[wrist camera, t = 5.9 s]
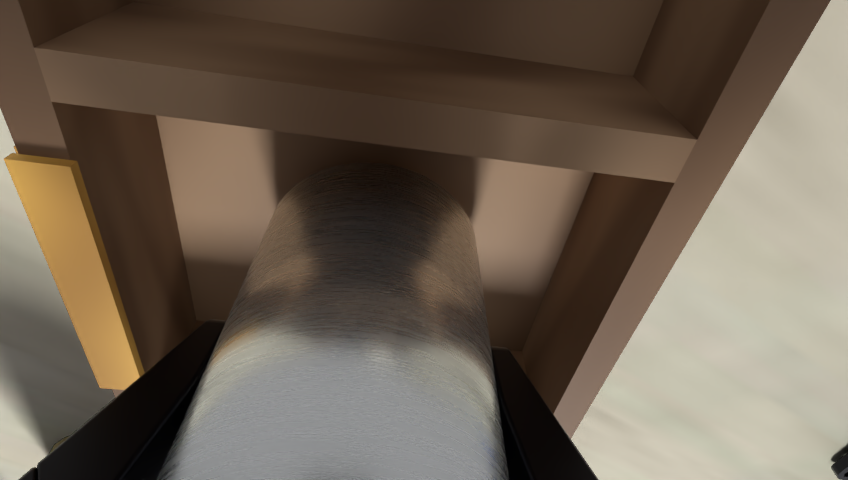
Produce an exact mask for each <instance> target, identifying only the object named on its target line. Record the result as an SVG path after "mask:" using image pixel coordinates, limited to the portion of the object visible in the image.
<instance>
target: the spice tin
mask: <svg viewBox="0 0 848 480" xmlns="http://www.w3.org/2000/svg"><path fill="white" fill-rule="evenodd" d="M157 480H509V474H508V467H507V460H506V453H505V445H504V438H503V431H502V424H501V417H500V410H499V403H498V395H497V388H496V381H495V374H494V367H493V360H492V352H491V345H490V338H489V331H488V324H487V317H486V309H485V302H484V295H483V288H482V281H481V274H480V266H479V259H478V252H477V245H476V238H475V233H474V230H473V227H472V224H471V222H470V220H469V218H468V216H467V214H466V212H465V211H464V209H463V208H462V207H461V205H460V204H459V203H458V201H457V200H456V199H455V198H454V197H453V196H452V195H451V194H450V193H449V192H447V191H446V190H445V189H444V188H442V187H441V186H440V185H439V184H437V183H435V182H434V181H432V180H430V179H429V178H427V177H425V176H423V175H420V174H418V173H416V172H414V171H411V170H408V169H405V168H401V167H398V166H393V165H388V164H382V163H350V164H344V165H338V166H334V167H331V168H328V169H324V170H321V171H319V172H317V173H315V174H313V175H310V176H309V177H307V178H305V179H304V180H302V181H301V182H299V183H298V184H297V185H295V186H294V187H293V188H292V189H291V190H290V191H288V193H287V194H286V195H285V196H284V197H283V198H282V200H281V201H280V202H279V204H278V206H277V207H276V209H275V211H274V213H273V215H272V218H271V220H270V222H269V224H268V227H267V229H266V231H265V234H264V236H263V238H262V240H261V243H260V245H259V247H258V250H257V252H256V254H255V256H254V259H253V261H252V263H251V266H250V268H249V270H248V272H247V275H246V277H245V279H244V282H243V284H242V286H241V288H240V291H239V293H238V295H237V298H236V300H235V302H234V304H233V307H232V309H231V311H230V313H229V316H228V318H227V320H226V323H225V325H224V327H223V329H222V332H221V334H220V336H219V339H218V341H217V343H216V345H215V348H214V350H213V352H212V355H211V357H210V359H209V361H208V364H207V366H206V368H205V371H204V373H203V375H202V377H201V380H200V382H199V384H198V387H197V389H196V391H195V393H194V396H193V398H192V400H191V403H190V405H189V407H188V409H187V412H186V414H185V416H184V419H183V421H182V423H181V425H180V428H179V430H178V432H177V435H176V437H175V439H174V441H173V444H172V446H171V448H170V450H169V453H168V455H167V457H166V460H165V462H164V464H163V466H162V469H161V471H160V473H159V476H158V478H157Z"/></svg>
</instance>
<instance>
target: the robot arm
mask: <svg viewBox="0 0 848 480" xmlns="http://www.w3.org/2000/svg"><path fill="white" fill-rule="evenodd" d="M225 323H226V320H218V319H209V320H207V321H205V322H204V323H203V324H202V325H201V326H199V327H198V328H197V329H196V330H195V331H193V332H192V333H191V334H190V335H189V336H188V337H186V338H185V339H184V340H183V341H182V342H181V343H179V344H178V345H177V346H176V347H175V348H173V349H172V350H171V351H170V352H169V353H168V354H166V355H165V356H164V357H163V358H162V359H160V360H159V361H158V362H157V363H156V364H155V365H153V366H152V367H151V368H150V369H149V370H147V371H146V372H145V373H144V374H143V375H142V376H140V377H139V378H138V379H137V380H136V381H135V382H133V383H132V384H131V385H130V386H129V387H127V388H126V389H125V390H124V391H123V392H122V393H120V394H119V395H118V396H117V397H116V398H114V399H113V400H112V401H111V402H110V403H109V404H107V405H106V406H105V407H104V408H103V409H101V410H100V411H99V412H98V413H97V414H96V415H94V416H93V417H92V418H91V419H90V420H89V421H87V422H86V423H85V424H84V425H83V426H81V427H80V428H79V429H78V430H77V431H76V432H74V433H73V434H72V435H71V436H70V437H68V438H67V439H66V440H65V441H64V442H63V443H61V444H60V445H59V446H58V447H57V448H55V449H54V450H53V451H52V452H51V453H50V454H48V455H47V456H46V457H45V458H44V459H43V460H41V461H40V462H39V463H38V465H37V468H36V467H34V468H32V469H30V470H29V471H28V472H27V473H26V474H25V475H23V476H22V477H21V478H20V479H19V480H157V478H158V476H159V473H160V471H161V469H162V466H163V464H164V462H165V460H166V457H167V455H168V453H169V450H170V448H171V446H172V444H173V441H174V439H175V437H176V435H177V432H178V430H179V428H180V425H181V423H182V421H183V419H184V416H185V414H186V412H187V409H188V407H189V405H190V403H191V400H192V398H193V396H194V393H195V391H196V389H197V387H198V384H199V382H200V380H201V377H202V375H203V373H204V371H205V368H206V366H207V364H208V361H209V359H210V357H211V355H212V352H213V350H214V348H215V345H216V343H217V341H218V339H219V336H220V334H221V332H222V329H223V327H224V325H225ZM491 352H492V360H493V367H494V374H495V381H496V388H497V395H498V403H499V410H500V417H501V424H502V431H503V438H504V445H505V453H506V460H507V467H508V474H509V480H598V478H597V477H596V476H595V474H594V473H593V471H592V470H591V468H590V467H589V465H588V464H587V462H586V461H585V459H584V458H583V457H582V455H581V454H580V452H579V451H578V449H577V448H576V446H575V445H574V443H573V442H572V441H571V439H570V438H569V436H568V435H567V433H566V432H565V430H564V429H563V427H562V426H561V424H560V423H559V422H558V420H557V419H556V417H555V416H554V414H553V413H552V411H551V410H550V408H549V407H548V406H547V404H546V403H545V401H544V400H543V398H542V397H541V395H540V394H539V392H538V391H537V390H536V388H535V387H534V385H533V384H532V382H531V381H530V379H529V378H528V376H527V375H526V373H525V372H524V371H523V369H522V368H521V366H520V365H519V363H518V362H517V360H516V359H515V357H514V356H513V355H512V353H511V352H510V350H509V349H507V348H505V347H497V346H491ZM831 469H832V470H833V472H834V473H835V475H836V476H837V478H839V479H841V480H848V453H847V454H846V455H844V456H843V457H842V458H841V459H839V460H838V461H837V462H835V463H834V464H833V465H832V466H831Z"/></svg>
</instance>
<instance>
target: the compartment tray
mask: <svg viewBox="0 0 848 480" xmlns="http://www.w3.org/2000/svg"><path fill="white" fill-rule="evenodd" d="M829 2H830V0H0V108H1V110H2V113H3V115H4V118H5V121H6V123H7V126H8V128H9V131H10V133H11V136H12V138H13V141H14V143H15V146H14V148H15V151H16V153H17V154H16V153H12V154H10V155H9V156H7V157H6V158H4V161H5V163H6V166H7V168H8V170H9V173H10V175H11V177H12V180H13V182H14V185H15V187H16V189H17V192H18V194H19V197H20V199H21V201H22V204H23V206H24V208H25V211H26V213H27V216H28V218H29V220H30V223H31V225H32V228H33V230H34V232H35V235H36V237H37V240H38V242H39V244H40V247H41V249H42V251H43V254H44V256H45V259H46V261H47V263H48V266H49V268H50V271H51V273H52V275H53V278H54V280H55V282H56V285H57V287H58V290H59V292H60V294H61V297H62V299H63V302H64V304H65V306H66V309H67V311H68V313H69V316H70V318H71V321H72V323H73V325H74V328H75V330H76V333H77V335H78V337H79V340H80V342H81V344H82V347H83V349H84V352H85V354H86V356H87V359H88V361H89V364H90V366H91V368H92V371H93V373H94V375H95V378H96V380H97V383H98V385H99V387H100V388H105V389H112V391H113V393H114V396H115V398H116V397H117V396H118V395H119V394H120V393H122V392H123V391H124V390H125V389H126V388H127V387H129V386H130V385H131V384H132V383H133V382H135V381H136V380H137V379H138V378H139V377H140V376H142V375H143V374H144V373H145V372H146V371H147V370H149V369H150V368H151V367H152V366H153V365H155V364H156V363H157V362H158V361H159V360H160V359H162V358H163V357H164V356H165V355H166V354H168V353H169V352H170V351H171V350H172V349H173V348H175V347H176V346H177V345H178V344H179V343H181V342H182V341H183V340H184V339H185V338H186V337H188V336H189V335H190V334H191V333H192V332H193V331H195V330H196V329H197V328H198V327H199V326H201V325H202V324H203V323H204V322H205V321H207V320H209V319H218V320H227V318H228V316H229V313H230V311H231V309H232V307H233V304H234V302H235V300H236V298H237V295H238V293H239V291H240V288H241V286H242V284H243V282H244V279H245V277H246V275H247V272H248V270H249V268H250V266H251V263H252V261H253V259H254V256H255V254H256V252H257V250H258V247H259V245H260V243H261V240H262V238H263V236H264V234H265V231H266V229H267V227H268V224H269V222H270V220H271V218H272V215H273V213H274V211H275V209H276V207H277V206H278V204H279V202H280V201H281V200H282V198H283V197H284V196H285V195H286V194H287V193H288V191H290V190H291V189H292V188H293V187H294V186H295V185H297V184H298V183H299V182H301V181H302V180H304V179H305V178H307V177H309V176H310V175H313V174H315V173H317V172H319V171H321V170H324V169H328V168H331V167H334V166H338V165H344V164H350V163H382V164H388V165H393V166H398V167H401V168H405V169H408V170H411V171H414V172H416V173H418V174H420V175H423V176H425V177H427V178H429V179H430V180H432V181H434V182H435V183H437V184H439V185H440V186H441V187H442V188H444V189H445V190H446V191H447V192H449V193H450V194H451V195H452V196H453V197H454V198H455V199H456V200H457V201H458V203H459V204H460V205H461V207H462V208H463V209H464V211H465V212H466V214H467V216H468V218H469V220H470V222H471V224H472V227H473V230H474V233H475V238H476V245H477V252H478V259H479V266H480V274H481V281H482V288H483V295H484V302H485V309H486V317H487V324H488V331H489V338H490V345H491V346H497V347H505V348H507V349H509V350H510V352H511V353H512V355H513V356H514V357H515V359H516V360H517V362H518V363H519V365H520V366H521V368H522V369H523V371H524V372H525V373H526V375H527V376H528V378H529V379H530V381H531V382H532V384H533V385H534V387H535V388H536V390H537V391H538V392H539V394H540V395H541V397H542V398H543V400H544V401H545V403H546V404H547V406H548V407H549V408H550V410H551V411H552V413H553V414H554V416H555V417H556V419H557V420H558V422H559V423H560V424H561V426H562V427H563V429H564V430H565V432H566V433H567V435H568V436H569V438H570V439H571V437H572V436H573V434H574V432H575V431H576V429H577V427H578V426H579V424H580V422H581V421H582V419H583V417H584V415H585V414H586V412H587V410H588V409H589V407H590V405H591V404H592V402H593V400H594V399H595V397H596V395H597V394H598V392H599V390H600V388H601V387H602V385H603V383H604V382H605V380H606V378H607V377H608V375H609V373H610V372H611V370H612V368H613V367H614V365H615V363H616V361H617V360H618V358H619V356H620V355H621V353H622V351H623V350H624V348H625V346H626V345H627V343H628V341H629V340H630V338H631V336H632V334H633V333H634V331H635V329H636V328H637V326H638V324H639V323H640V321H641V319H642V318H643V316H644V314H645V313H646V311H647V309H648V307H649V306H650V304H651V302H652V301H653V299H654V297H655V296H656V294H657V292H658V291H659V289H660V287H661V286H662V284H663V282H664V280H665V279H666V277H667V275H668V274H669V272H670V270H671V269H672V267H673V265H674V264H675V262H676V260H677V259H678V257H679V255H680V253H681V252H682V250H683V248H684V247H685V245H686V243H687V242H688V240H689V238H690V237H691V235H692V233H693V232H694V230H695V228H696V226H697V225H698V223H699V221H700V220H701V218H702V216H703V215H704V213H705V211H706V210H707V208H708V206H709V205H710V203H711V201H712V199H713V198H714V196H715V194H716V193H717V191H718V189H719V188H720V186H721V184H722V183H723V181H724V179H725V178H726V176H727V174H728V172H729V171H730V169H731V167H732V166H733V164H734V162H735V161H736V159H737V157H738V156H739V154H740V152H741V151H742V149H743V147H744V145H745V144H746V142H747V140H748V139H749V137H750V135H751V134H752V132H753V130H754V129H755V127H756V125H757V124H758V122H759V120H760V118H761V117H762V115H763V113H764V112H765V110H766V108H767V107H768V105H769V103H770V102H771V100H772V98H773V97H774V95H775V93H776V91H777V90H778V88H779V86H780V85H781V83H782V81H783V80H784V78H785V76H786V75H787V73H788V71H789V70H790V68H791V66H792V64H793V63H794V61H795V59H796V58H797V56H798V54H799V53H800V51H801V49H802V48H803V46H804V44H805V43H806V41H807V39H808V37H809V36H810V34H811V32H812V31H813V29H814V27H815V26H816V24H817V22H818V21H819V19H820V17H821V16H822V14H823V12H824V10H825V9H826V7H827V5H828V4H829Z"/></svg>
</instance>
